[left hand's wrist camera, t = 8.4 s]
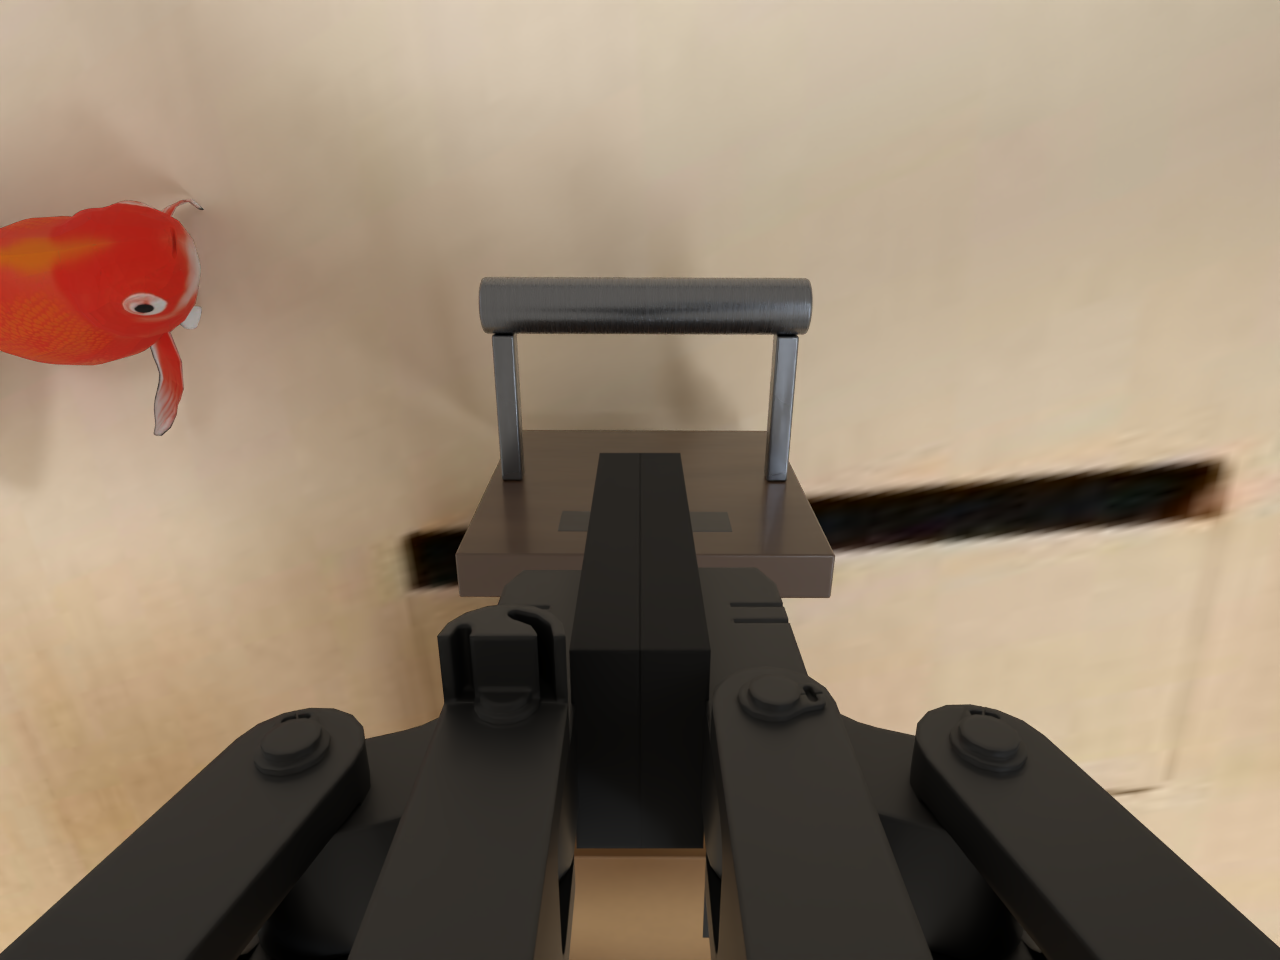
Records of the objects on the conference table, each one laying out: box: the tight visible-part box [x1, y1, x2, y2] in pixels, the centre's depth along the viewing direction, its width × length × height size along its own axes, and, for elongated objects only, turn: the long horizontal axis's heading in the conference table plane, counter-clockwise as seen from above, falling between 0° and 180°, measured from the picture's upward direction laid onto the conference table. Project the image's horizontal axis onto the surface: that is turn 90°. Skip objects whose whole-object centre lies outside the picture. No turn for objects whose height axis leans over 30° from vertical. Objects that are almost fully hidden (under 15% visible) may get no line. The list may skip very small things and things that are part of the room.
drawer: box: [456, 277, 835, 598], centre depth 25 cm, size 25×9×9 cm, turn 0°
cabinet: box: [569, 835, 711, 960], centre depth 30 cm, size 20×10×11 cm, turn 0°
